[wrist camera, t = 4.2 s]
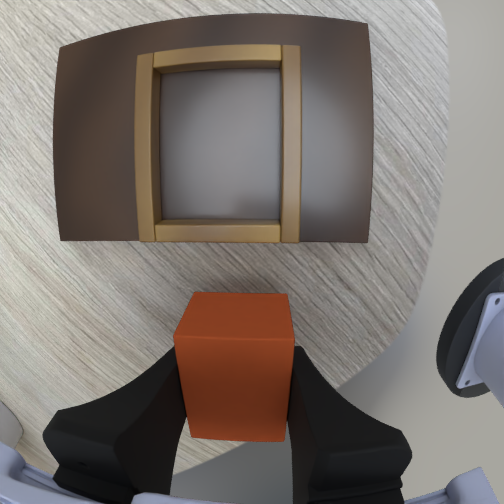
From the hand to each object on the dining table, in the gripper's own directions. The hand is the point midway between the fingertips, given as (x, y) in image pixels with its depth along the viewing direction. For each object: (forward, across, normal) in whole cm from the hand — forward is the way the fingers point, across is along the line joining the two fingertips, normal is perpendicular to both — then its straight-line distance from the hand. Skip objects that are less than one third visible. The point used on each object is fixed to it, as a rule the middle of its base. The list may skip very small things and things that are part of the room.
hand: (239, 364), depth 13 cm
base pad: (+4, +2, -10) cm, 11 cm away
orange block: (+1, 0, 0) cm, 1 cm away
